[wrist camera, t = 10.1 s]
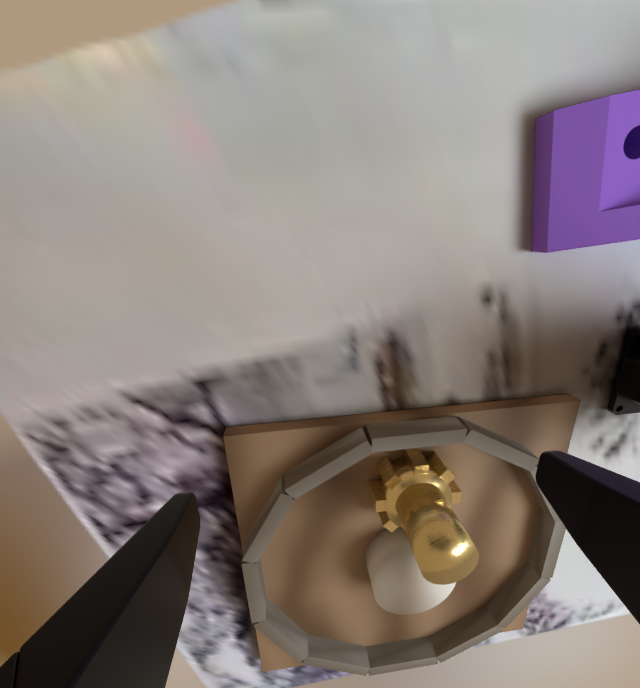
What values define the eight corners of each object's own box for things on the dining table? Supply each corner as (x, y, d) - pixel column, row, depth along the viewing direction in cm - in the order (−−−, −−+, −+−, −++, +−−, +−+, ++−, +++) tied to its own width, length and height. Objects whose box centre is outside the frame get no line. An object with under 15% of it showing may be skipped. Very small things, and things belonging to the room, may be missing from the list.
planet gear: (450, 442, 22) (509, 514, 16) (443, 508, 24) (493, 593, 18) (369, 450, 21) (399, 527, 16) (368, 516, 23) (394, 607, 17)
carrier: (568, 393, 23) (616, 420, 19) (515, 616, 31) (543, 662, 27) (226, 427, 21) (215, 463, 17) (263, 657, 28) (260, 712, 25)
